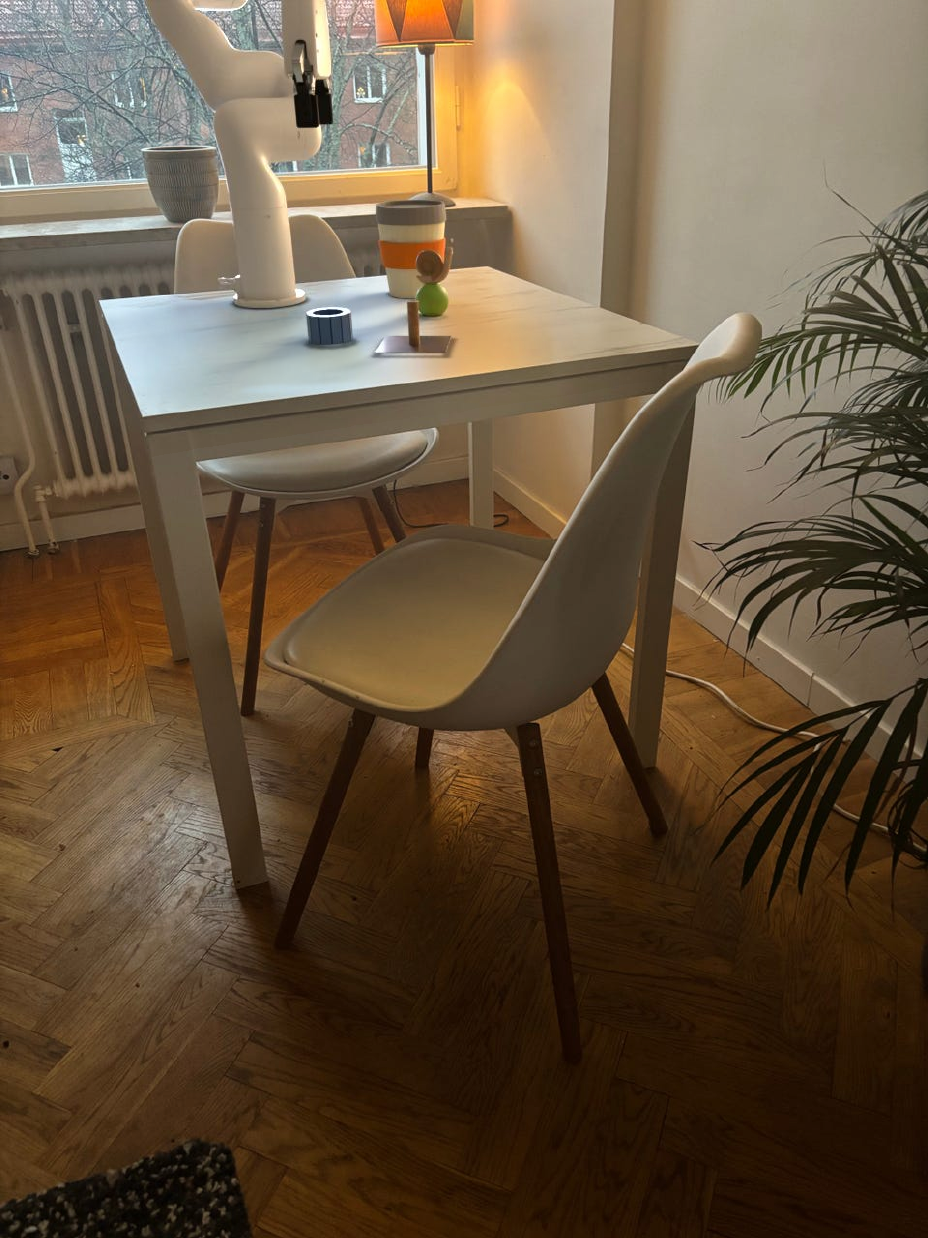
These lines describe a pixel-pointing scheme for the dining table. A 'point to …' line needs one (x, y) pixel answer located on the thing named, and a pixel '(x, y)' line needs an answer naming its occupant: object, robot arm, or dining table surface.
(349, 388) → the dining table surface
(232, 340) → the dining table surface
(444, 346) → the dowel stand
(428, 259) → the snail figurine
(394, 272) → the reusable coffee cup
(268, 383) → the dining table surface
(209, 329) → the dining table surface
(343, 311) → the blue ring
